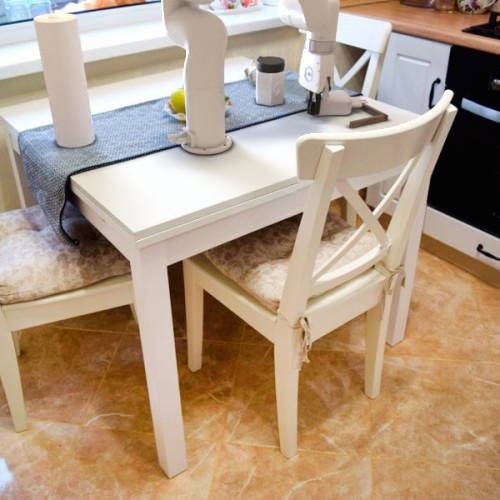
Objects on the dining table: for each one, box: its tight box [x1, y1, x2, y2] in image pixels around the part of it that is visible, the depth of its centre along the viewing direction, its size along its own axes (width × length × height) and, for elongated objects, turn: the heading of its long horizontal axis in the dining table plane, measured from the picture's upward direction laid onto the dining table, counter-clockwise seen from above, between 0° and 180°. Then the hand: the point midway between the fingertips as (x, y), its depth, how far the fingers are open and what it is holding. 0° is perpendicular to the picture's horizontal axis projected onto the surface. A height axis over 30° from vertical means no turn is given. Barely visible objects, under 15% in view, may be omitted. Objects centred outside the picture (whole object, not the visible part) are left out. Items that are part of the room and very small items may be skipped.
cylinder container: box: [33, 12, 96, 149], centre depth 141 cm, size 9×9×30 cm
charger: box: [316, 89, 369, 117], centre depth 167 cm, size 5×9×15 cm
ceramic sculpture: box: [243, 55, 263, 88], centre depth 186 cm, size 11×9×15 cm
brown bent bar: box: [305, 95, 389, 129], centre depth 167 cm, size 12×22×2 cm, turn 29°
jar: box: [255, 55, 286, 107], centre depth 171 cm, size 9×8×12 cm
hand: (312, 114), depth 163 cm, fingers closed
